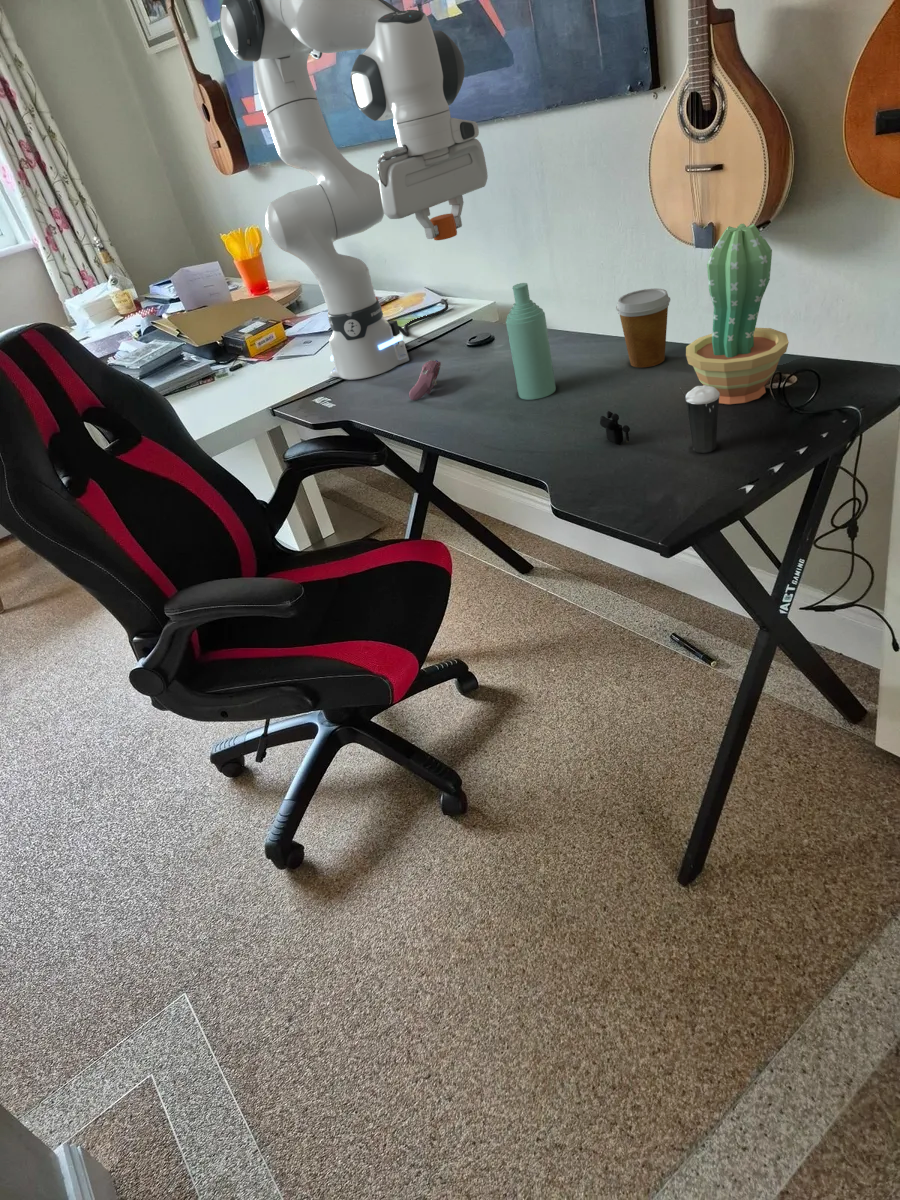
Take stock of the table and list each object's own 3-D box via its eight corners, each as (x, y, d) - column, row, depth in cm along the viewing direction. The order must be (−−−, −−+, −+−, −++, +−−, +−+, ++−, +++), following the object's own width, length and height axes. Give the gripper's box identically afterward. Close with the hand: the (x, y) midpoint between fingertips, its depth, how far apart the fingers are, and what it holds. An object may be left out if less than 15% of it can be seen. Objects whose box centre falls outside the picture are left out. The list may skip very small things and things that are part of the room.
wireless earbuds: (633, 446, 118) (631, 415, 116) (620, 452, 118) (617, 421, 115) (605, 435, 124) (602, 405, 121) (593, 440, 123) (589, 410, 120)
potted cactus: (809, 384, 123) (817, 213, 109) (739, 420, 118) (738, 246, 104) (733, 368, 134) (731, 212, 121) (666, 400, 129) (656, 241, 116)
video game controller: (428, 407, 156) (436, 374, 151) (407, 400, 156) (414, 367, 151) (438, 388, 163) (446, 357, 159) (418, 381, 163) (425, 350, 159)
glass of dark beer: (678, 447, 115) (674, 382, 109) (714, 438, 115) (712, 373, 109) (688, 459, 111) (685, 393, 106) (725, 450, 111) (724, 383, 105)
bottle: (513, 392, 148) (494, 287, 137) (547, 381, 149) (531, 276, 138) (526, 403, 142) (508, 294, 131) (561, 391, 143) (546, 282, 132)
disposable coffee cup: (680, 351, 146) (677, 286, 140) (663, 371, 140) (658, 303, 134) (632, 352, 151) (627, 289, 145) (613, 371, 145) (607, 306, 139)
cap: (460, 235, 127) (456, 214, 126) (437, 241, 127) (433, 221, 125) (453, 232, 131) (449, 212, 129) (431, 238, 130) (427, 218, 128)
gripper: (386, 153, 114) (409, 252, 122) (485, 120, 123) (500, 214, 131) (362, 156, 118) (385, 252, 126) (458, 125, 128) (475, 216, 135)
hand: (444, 232), depth 129 cm, fingers closed on cap, 4 cm apart
